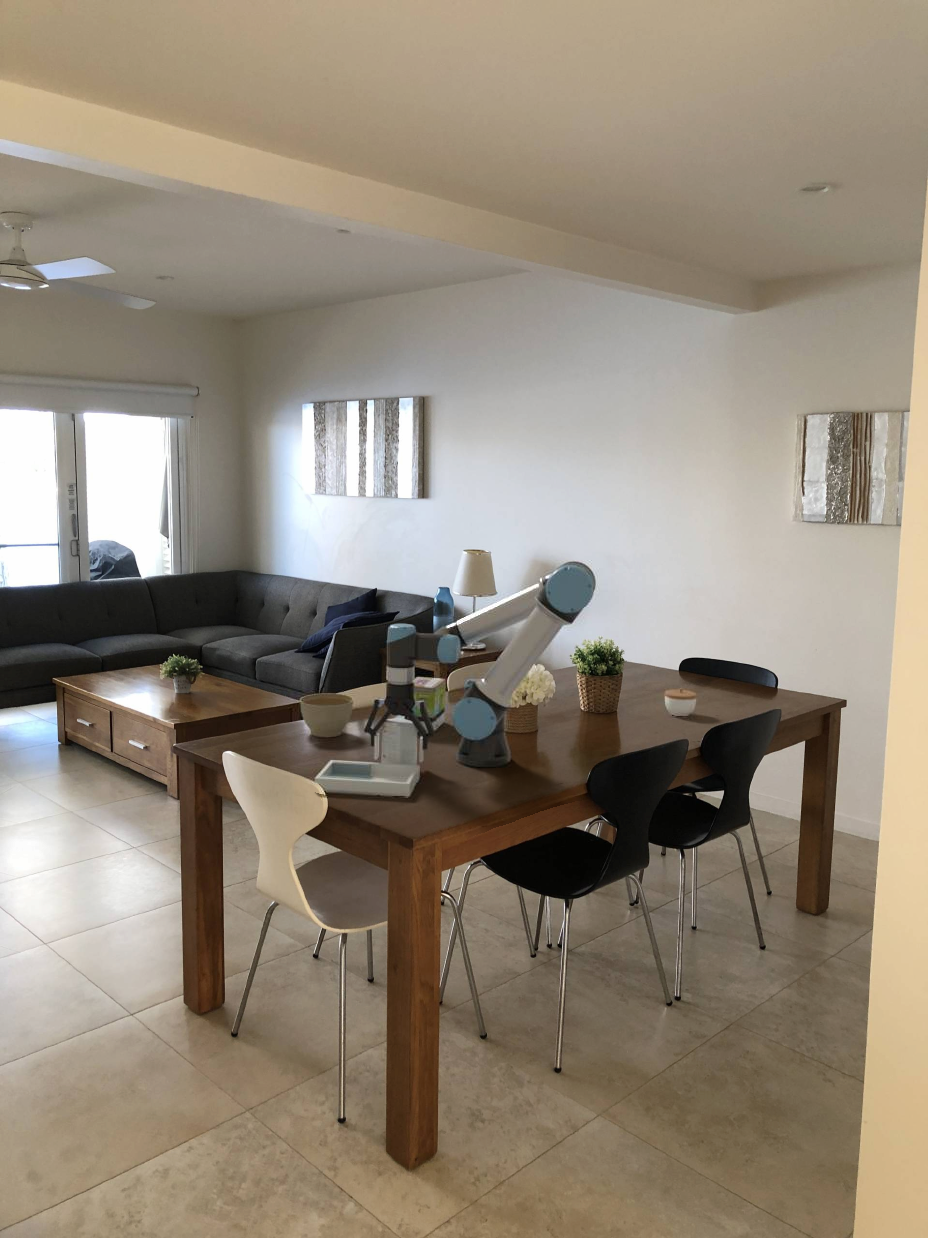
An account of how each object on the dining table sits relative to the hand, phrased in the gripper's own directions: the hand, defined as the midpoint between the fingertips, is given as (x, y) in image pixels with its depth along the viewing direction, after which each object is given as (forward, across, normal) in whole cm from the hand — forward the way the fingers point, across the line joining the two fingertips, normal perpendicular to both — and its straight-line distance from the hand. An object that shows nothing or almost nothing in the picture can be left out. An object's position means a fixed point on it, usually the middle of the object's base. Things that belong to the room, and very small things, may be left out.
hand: (398, 759), depth 268 cm
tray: (+2, +5, +16) cm, 17 cm away
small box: (+3, 0, 0) cm, 3 cm away
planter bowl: (+3, +28, -30) cm, 41 cm away
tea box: (+3, 0, -45) cm, 45 cm away
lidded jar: (+2, -83, -79) cm, 115 cm away
